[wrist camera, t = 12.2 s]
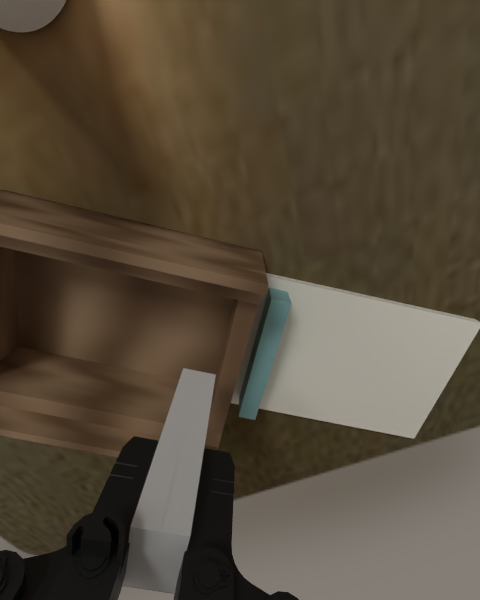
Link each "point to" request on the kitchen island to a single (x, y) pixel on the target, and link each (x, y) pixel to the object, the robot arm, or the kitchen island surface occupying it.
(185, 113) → the kitchen island surface
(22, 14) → the can
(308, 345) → the lid
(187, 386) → the robot arm
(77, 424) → the box
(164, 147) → the kitchen island surface
